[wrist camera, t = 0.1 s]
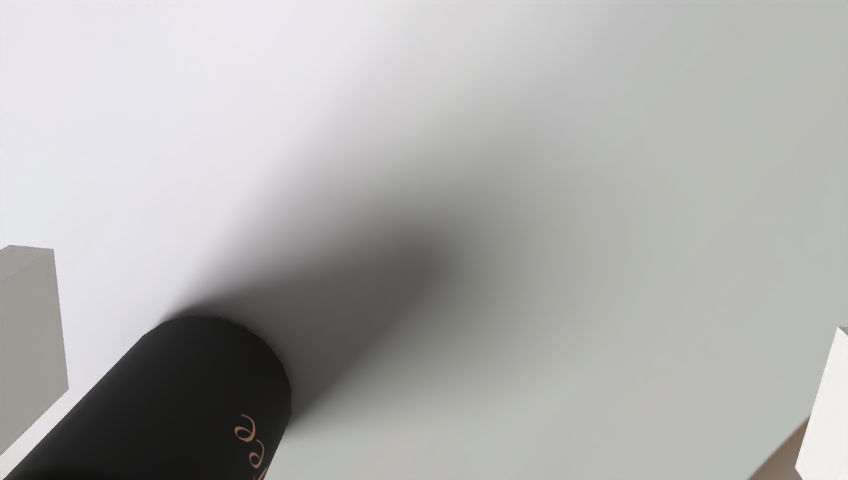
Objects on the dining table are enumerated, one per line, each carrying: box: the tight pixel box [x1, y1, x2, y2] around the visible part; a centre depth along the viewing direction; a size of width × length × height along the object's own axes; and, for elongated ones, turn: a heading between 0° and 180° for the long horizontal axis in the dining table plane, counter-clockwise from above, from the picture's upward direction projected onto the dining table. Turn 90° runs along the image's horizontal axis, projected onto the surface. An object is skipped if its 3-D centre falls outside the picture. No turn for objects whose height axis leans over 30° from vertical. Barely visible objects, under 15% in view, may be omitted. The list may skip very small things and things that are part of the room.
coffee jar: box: [3, 316, 291, 480], centre depth 37 cm, size 11×11×18 cm
